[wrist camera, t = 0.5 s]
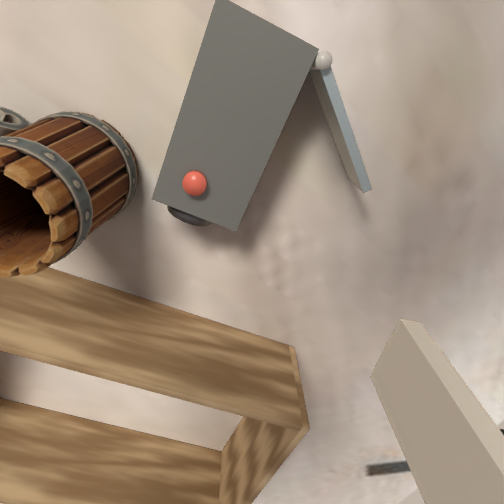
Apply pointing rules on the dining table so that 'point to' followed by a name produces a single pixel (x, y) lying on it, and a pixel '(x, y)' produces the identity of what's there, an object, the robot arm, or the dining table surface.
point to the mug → (58, 185)
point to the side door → (338, 120)
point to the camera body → (231, 116)
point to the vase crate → (149, 378)
